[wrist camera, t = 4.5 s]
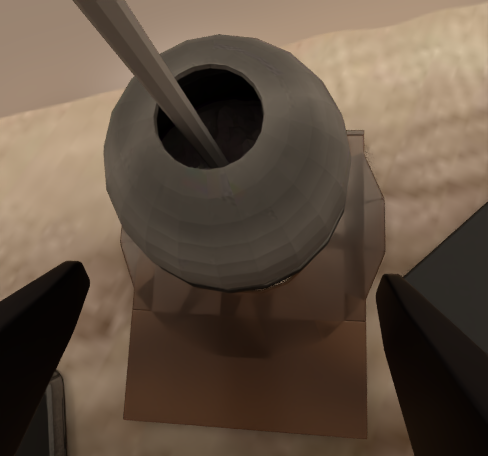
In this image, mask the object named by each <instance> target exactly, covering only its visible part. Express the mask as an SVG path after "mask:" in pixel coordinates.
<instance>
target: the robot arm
mask: <svg viewBox="0 0 488 456" xmlns="http://www.w3.org/2000/svg"><path fill="white" fill-rule="evenodd" d="M89 287H90V279H89V277H88V275H87V273H86V271H85V269H84V266H83V264H82V263H81V262H79V261H65V262H63V263H62V264H60V265H58V266H57V267H55V268H53V269H52V270H50V271H49V272H47V273H45V274H44V275H42V276H41V277H39V278H37V279H36V280H34V281H33V282H31V283H29V284H28V285H26V286H24V287H23V288H21V289H20V290H18V291H16V292H15V293H13V294H12V295H10V296H8V297H7V298H5V299H3V300H2V301H0V456H15V454H16V452H17V450H18V448H19V446H20V444H21V442H22V439H23V437H24V435H25V433H26V431H27V429H28V427H29V425H30V423H31V420H32V418H33V416H34V414H35V412H36V410H37V408H38V406H39V404H40V402H41V399H42V397H43V395H44V393H45V391H46V389H47V387H48V385H49V383H50V380H51V378H52V376H53V374H54V372H55V370H56V368H57V366H58V364H59V362H60V359H61V357H62V355H63V353H64V351H65V349H66V347H67V345H68V343H69V340H70V338H71V336H72V334H73V332H74V329H75V326H76V324H77V321H78V318H79V315H80V312H81V310H82V307H83V304H84V301H85V298H86V295H87V293H88V290H89ZM376 304H377V310H378V316H379V322H380V328H381V334H382V340H383V345H384V351H385V354H386V358H387V362H388V365H389V369H390V372H391V376H392V379H393V383H394V386H395V390H396V393H397V397H398V400H399V404H400V407H401V411H402V414H403V417H404V421H405V424H406V428H407V431H408V435H409V438H410V442H411V445H412V449H413V452H414V456H488V354H486V353H485V352H484V351H483V350H482V349H481V348H480V347H479V346H478V345H477V344H475V343H474V342H473V341H472V340H471V339H470V338H469V337H468V336H467V335H466V334H464V333H463V332H462V331H461V330H460V329H459V328H458V327H457V326H456V325H455V324H453V323H452V322H451V321H450V320H449V319H448V318H447V317H446V316H445V315H444V314H442V313H441V312H440V311H439V310H438V309H437V308H436V307H435V306H434V305H433V304H431V303H430V302H429V301H428V300H427V299H426V298H425V297H424V296H423V295H422V294H420V293H419V292H418V291H417V290H416V289H415V288H414V287H413V286H412V285H411V284H409V283H408V282H407V281H406V280H405V279H404V278H403V277H402V276H400V275H398V274H384V275H383V276H382V278H381V281H380V284H379V286H378V289H377V292H376Z"/></svg>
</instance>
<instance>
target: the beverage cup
mask: <svg viewBox="0 0 488 456" xmlns="http://www.w3.org/2000/svg"><path fill="white" fill-rule="evenodd" d="M73 1H74V3H75V4H76V5H77V6H78V7H79V9H80V10H81V11H82V12H83V14H84V15H85V16H86V17H87V18H88V20H89V21H90V22H91V23H92V25H93V26H94V27H95V28H96V29H97V31H98V32H99V33H100V34H101V35H102V37H103V38H104V39H105V40H106V42H107V43H108V44H109V45H110V47H111V48H112V49H113V50H114V51H115V52H116V54H117V55H118V56H119V57H120V59H121V60H122V61H123V62H124V63H125V65H126V66H127V67H128V68H129V70H130V71H131V72H132V73H133V75H134V77H133V78H132V79H131V81H130V82H129V84H128V86H127V87H126V89H125V91H124V92H123V94H122V96H121V97H120V99H119V101H118V102H117V104H116V106H115V108H114V109H113V111H112V114H111V118H110V122H109V127H108V131H107V135H106V139H105V144H104V165H105V177H106V190H107V192H108V194H109V197H110V199H111V201H112V204H113V206H114V208H115V211H116V213H117V215H118V218H119V220H120V222H121V225H122V227H123V229H124V231H125V232H126V234H127V235H128V236H129V237H130V238H131V239H132V240H133V241H134V242H135V244H136V245H137V246H138V247H139V248H140V249H141V250H142V251H143V252H144V254H145V255H146V256H147V257H148V258H149V259H150V260H151V261H152V262H153V263H155V264H157V265H158V266H159V267H160V268H161V269H162V270H164V271H166V272H168V273H170V274H171V275H173V276H175V277H177V278H179V279H180V280H182V281H184V282H186V283H188V284H189V285H191V286H193V287H198V288H203V289H209V290H214V291H220V292H225V293H235V292H243V291H250V290H257V289H264V288H268V287H270V286H272V285H274V284H276V283H278V282H280V281H282V280H284V279H286V278H288V277H290V276H292V275H294V274H296V273H298V272H300V271H302V270H303V269H304V268H305V267H306V266H307V265H308V264H309V263H310V262H311V261H312V260H313V259H314V258H315V257H316V256H317V255H318V254H319V253H320V252H321V251H322V250H323V249H324V248H325V247H326V246H327V245H328V243H329V241H330V239H331V237H332V235H333V233H334V231H335V229H336V227H337V225H338V223H339V221H340V219H341V217H342V215H343V213H344V208H345V203H346V195H347V188H348V181H349V174H350V166H351V154H350V148H349V143H348V138H347V133H346V128H345V123H344V120H343V117H342V114H341V112H340V110H339V109H338V107H337V105H336V103H335V102H334V100H333V98H332V97H331V95H330V93H329V91H328V90H327V88H326V86H325V85H324V83H323V81H322V80H321V79H320V78H319V77H317V76H316V75H315V74H314V73H313V72H312V71H311V70H310V69H308V68H307V67H306V66H305V65H304V64H303V63H302V62H300V61H299V60H298V59H297V58H296V57H295V56H293V55H292V54H291V53H290V52H288V51H285V50H283V49H281V48H278V47H276V46H273V45H271V44H269V43H266V42H264V41H262V40H259V39H256V38H249V37H239V36H229V35H220V34H218V35H213V36H208V37H202V38H197V39H192V40H187V41H184V42H182V43H180V44H178V45H176V46H175V47H173V48H171V49H169V50H167V51H165V52H163V53H161V54H159V53H158V51H157V50H156V48H155V47H154V45H153V44H152V42H151V40H150V39H149V37H148V36H147V34H146V33H145V31H144V29H143V28H142V26H141V25H140V23H139V22H138V20H137V19H136V17H135V15H134V14H133V12H132V11H131V9H130V8H129V6H128V5H127V3H126V1H125V0H73Z"/></svg>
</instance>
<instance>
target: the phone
mask: <svg viewBox="0 0 488 456" xmlns="http://www.w3.org/2000/svg"><path fill="white" fill-rule="evenodd" d="M15 456H66V438H65V418H64V397H63V382H62V378H61V376H60V375H59V373H58V372H57V371H56V370H55V372H54V374H53V376H52V378H51V380H50V383H49V385H48V387H47V389H46V391H45V393H44V395H43V397H42V399H41V402H40V404H39V406H38V408H37V410H36V412H35V414H34V416H33V418H32V420H31V423H30V425H29V427H28V429H27V431H26V433H25V435H24V437H23V439H22V442H21V444H20V446H19V448H18V450H17V452H16V454H15Z"/></svg>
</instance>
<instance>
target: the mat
mask: <svg viewBox="0 0 488 456" xmlns="http://www.w3.org/2000/svg"><path fill="white" fill-rule="evenodd" d="M403 278H404V279H405V280H406V281H407V282H408V283H409V284H411V285H412V286H413V287H414V288H415V289H416V290H417V291H418V292H419V293H420V294H422V295H423V296H424V297H425V298H426V299H427V300H428V301H429V302H430V303H431V304H433V305H434V306H435V307H436V308H437V309H438V310H439V311H440V312H441V313H442V314H444V315H445V316H446V317H447V318H448V319H449V320H450V321H451V322H452V323H453V324H455V325H456V326H457V327H458V328H459V329H460V330H461V331H462V332H463V333H464V334H466V335H467V336H468V337H469V338H470V339H471V340H472V341H473V342H474V343H475V344H477V345H478V346H479V347H480V348H481V349H482V350H483V351H484V352H485V353H486V354H488V202H487V203H486V204H485V205H484V206H482V207H481V208H480V209H479V210H478V211H477V212H476V213H475V214H473V215H472V216H471V217H470V218H469V219H468V220H467V221H466V222H464V223H463V224H462V225H461V226H460V227H459V228H458V229H457V230H455V231H454V232H453V233H452V234H451V235H450V236H449V237H448V238H446V239H445V240H444V241H443V242H442V243H441V244H440V245H439V246H437V247H436V248H435V249H434V250H433V251H432V252H431V253H430V254H429V255H427V256H426V257H425V258H424V259H423V260H422V261H421V262H420V263H418V264H417V265H416V266H415V267H414V268H413V269H412V270H411V271H409V272H408V273H407V274H406V275H405V276H404V277H403Z"/></svg>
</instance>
